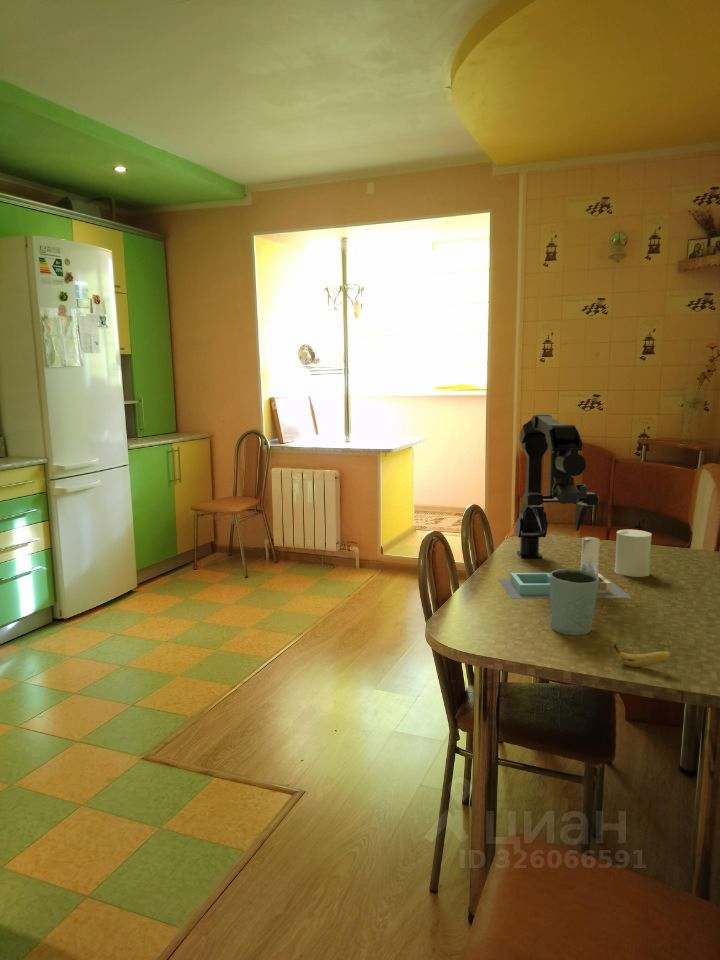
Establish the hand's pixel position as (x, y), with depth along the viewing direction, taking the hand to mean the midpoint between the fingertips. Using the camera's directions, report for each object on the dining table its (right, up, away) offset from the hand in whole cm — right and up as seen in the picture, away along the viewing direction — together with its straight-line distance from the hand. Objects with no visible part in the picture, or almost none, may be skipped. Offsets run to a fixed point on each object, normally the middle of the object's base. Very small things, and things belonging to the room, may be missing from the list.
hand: (559, 531), depth 175 cm
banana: (0, -22, -50) cm, 54 cm away
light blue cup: (-6, -19, -30) cm, 36 cm away
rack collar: (-7, -15, -3) cm, 17 cm away
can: (+24, -13, +11) cm, 29 cm away
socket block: (+7, -15, -3) cm, 16 cm away
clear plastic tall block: (+7, -15, -3) cm, 16 cm away
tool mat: (0, -15, -3) cm, 15 cm away
